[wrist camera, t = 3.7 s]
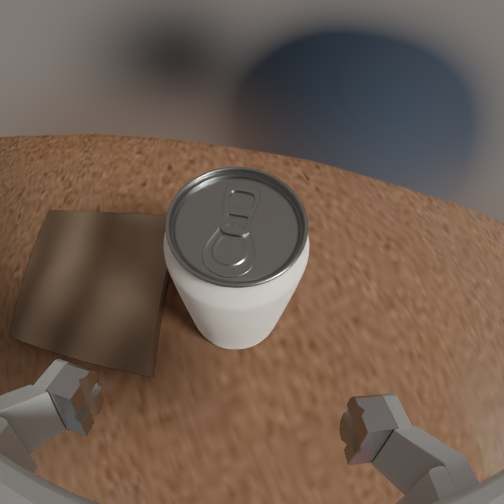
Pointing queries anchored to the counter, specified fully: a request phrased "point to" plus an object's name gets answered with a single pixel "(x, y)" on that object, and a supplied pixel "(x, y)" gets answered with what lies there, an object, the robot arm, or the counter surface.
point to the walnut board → (96, 289)
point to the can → (236, 252)
